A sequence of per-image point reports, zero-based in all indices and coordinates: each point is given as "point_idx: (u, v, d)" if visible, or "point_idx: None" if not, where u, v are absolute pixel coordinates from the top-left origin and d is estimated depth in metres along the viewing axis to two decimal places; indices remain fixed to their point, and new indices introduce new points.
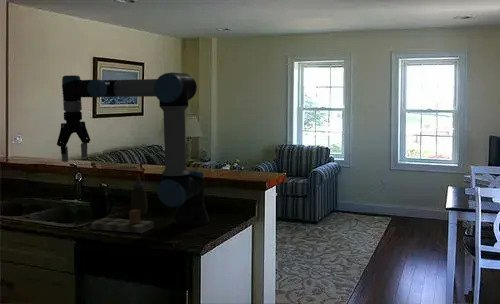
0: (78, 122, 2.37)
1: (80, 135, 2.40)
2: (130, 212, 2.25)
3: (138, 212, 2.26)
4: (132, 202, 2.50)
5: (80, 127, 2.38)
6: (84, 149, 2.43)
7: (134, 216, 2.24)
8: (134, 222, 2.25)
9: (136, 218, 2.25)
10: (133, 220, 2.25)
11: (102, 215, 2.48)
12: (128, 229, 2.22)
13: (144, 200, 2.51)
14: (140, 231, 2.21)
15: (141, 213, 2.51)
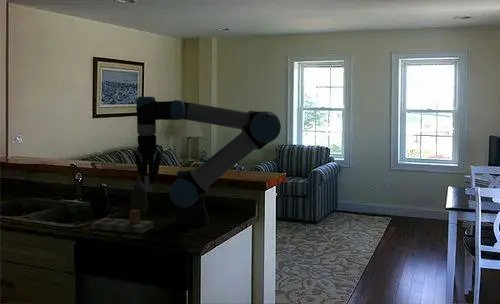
0: (152, 146, 2.19)
1: None
2: (130, 212, 2.25)
3: (138, 212, 2.26)
4: (132, 202, 2.50)
5: (149, 154, 2.19)
6: None
7: (134, 216, 2.24)
8: (134, 222, 2.25)
9: (136, 218, 2.25)
10: (133, 220, 2.25)
11: (102, 215, 2.48)
12: (128, 229, 2.22)
13: (144, 200, 2.51)
14: (140, 231, 2.21)
15: (141, 213, 2.51)
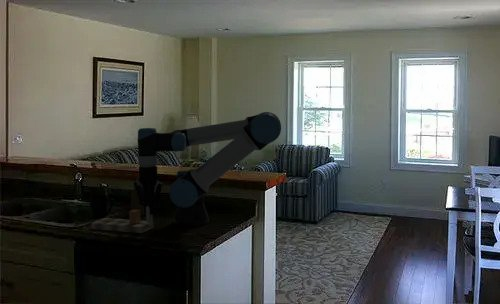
0: (153, 177, 2.20)
1: None
2: (130, 212, 2.25)
3: (138, 212, 2.26)
4: (132, 202, 2.50)
5: (150, 185, 2.21)
6: None
7: (134, 216, 2.24)
8: (134, 222, 2.25)
9: (136, 218, 2.25)
10: (133, 220, 2.25)
11: (102, 215, 2.48)
12: (128, 229, 2.22)
13: None
14: (140, 231, 2.21)
15: (141, 213, 2.51)
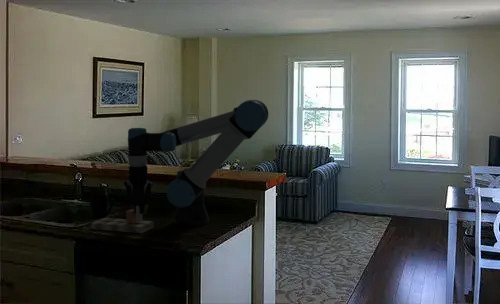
0: (143, 177, 2.22)
1: None
2: (127, 212, 2.25)
3: None
4: None
5: (140, 185, 2.22)
6: None
7: (131, 216, 2.25)
8: (131, 222, 2.25)
9: (133, 217, 2.25)
10: (130, 220, 2.25)
11: (102, 215, 2.48)
12: (128, 229, 2.22)
13: None
14: (140, 231, 2.21)
15: None
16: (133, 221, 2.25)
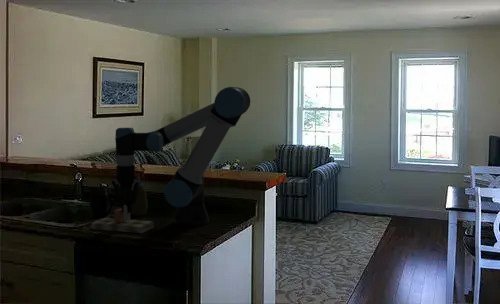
0: (130, 176, 2.24)
1: None
2: (115, 211, 2.27)
3: None
4: None
5: (127, 184, 2.24)
6: None
7: (119, 215, 2.27)
8: (119, 221, 2.27)
9: (121, 216, 2.27)
10: (117, 219, 2.27)
11: (102, 215, 2.48)
12: (128, 229, 2.22)
13: (144, 200, 2.51)
14: (140, 231, 2.21)
15: (141, 213, 2.51)
16: (121, 220, 2.27)
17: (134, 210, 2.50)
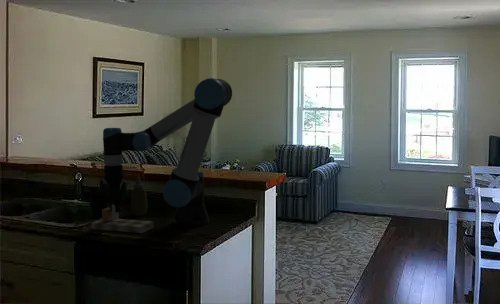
0: (118, 176, 2.26)
1: None
2: (103, 210, 2.29)
3: None
4: (132, 202, 2.50)
5: (115, 184, 2.26)
6: None
7: (107, 214, 2.28)
8: (107, 220, 2.29)
9: (109, 216, 2.29)
10: (106, 218, 2.29)
11: None
12: (128, 229, 2.22)
13: (144, 200, 2.51)
14: (140, 231, 2.21)
15: (141, 213, 2.51)
16: (109, 219, 2.29)
17: (134, 210, 2.50)
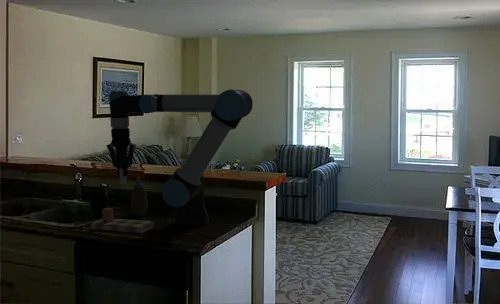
0: (125, 139, 2.24)
1: None
2: (103, 210, 2.29)
3: (111, 210, 2.31)
4: (132, 202, 2.50)
5: (123, 147, 2.24)
6: None
7: (107, 214, 2.28)
8: (107, 220, 2.29)
9: (109, 216, 2.29)
10: (105, 218, 2.29)
11: None
12: (128, 229, 2.22)
13: (144, 200, 2.51)
14: (140, 231, 2.21)
15: (141, 213, 2.51)
16: (109, 219, 2.29)
17: (134, 210, 2.50)
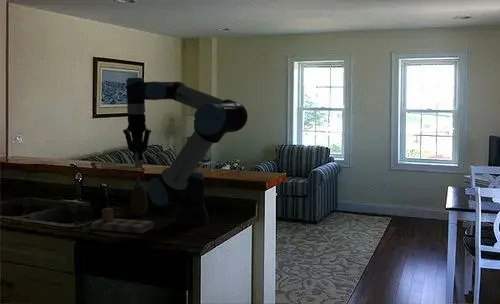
0: (141, 124, 2.32)
1: None
2: (103, 210, 2.29)
3: (111, 210, 2.31)
4: (132, 202, 2.50)
5: (138, 132, 2.32)
6: None
7: (107, 214, 2.28)
8: (107, 220, 2.29)
9: (109, 216, 2.29)
10: (105, 218, 2.29)
11: None
12: (128, 229, 2.22)
13: (144, 200, 2.50)
14: (140, 231, 2.21)
15: (141, 213, 2.51)
16: (109, 219, 2.29)
17: (134, 210, 2.50)
